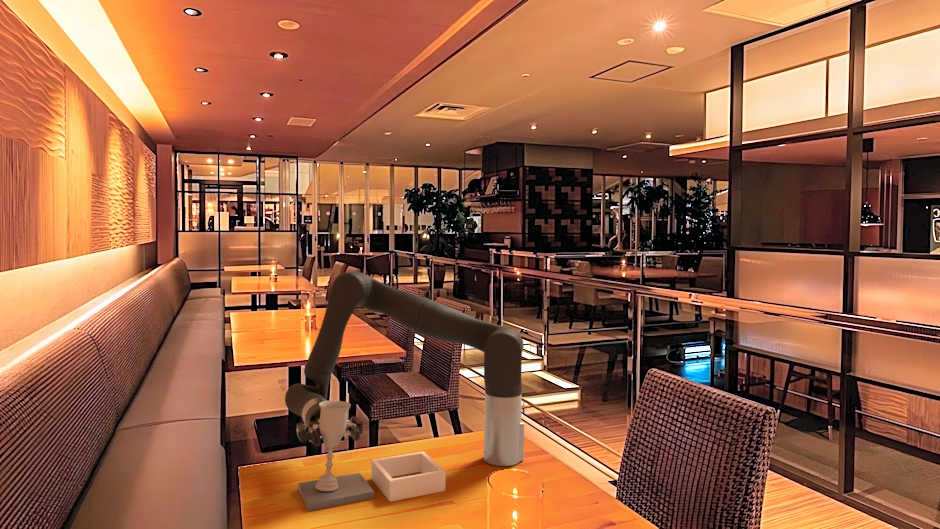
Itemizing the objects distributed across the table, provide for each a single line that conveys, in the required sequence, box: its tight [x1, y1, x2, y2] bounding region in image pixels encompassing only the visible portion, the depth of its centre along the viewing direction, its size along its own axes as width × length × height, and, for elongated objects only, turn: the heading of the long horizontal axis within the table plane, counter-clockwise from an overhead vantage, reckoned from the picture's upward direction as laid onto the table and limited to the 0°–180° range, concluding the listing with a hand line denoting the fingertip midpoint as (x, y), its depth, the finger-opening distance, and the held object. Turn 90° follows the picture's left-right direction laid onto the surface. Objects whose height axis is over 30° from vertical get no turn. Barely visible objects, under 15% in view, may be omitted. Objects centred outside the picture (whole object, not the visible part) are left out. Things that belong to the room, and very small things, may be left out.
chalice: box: [315, 400, 352, 491], centre depth 132 cm, size 7×7×18 cm
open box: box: [370, 450, 447, 502], centre depth 138 cm, size 13×13×4 cm
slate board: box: [297, 472, 375, 512], centre depth 133 cm, size 14×11×2 cm
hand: (338, 439), depth 130 cm, fingers open, 8 cm apart
